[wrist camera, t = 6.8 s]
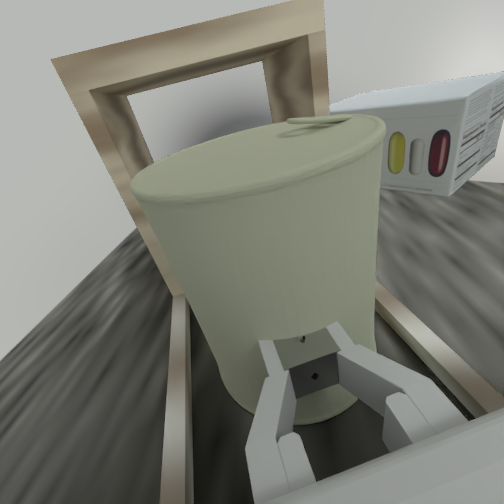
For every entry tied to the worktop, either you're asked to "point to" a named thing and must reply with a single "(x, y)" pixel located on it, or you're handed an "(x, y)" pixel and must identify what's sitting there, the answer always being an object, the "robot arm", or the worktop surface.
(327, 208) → the can
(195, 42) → the tunnel
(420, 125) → the supplement box
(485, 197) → the worktop surface
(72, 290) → the worktop surface
